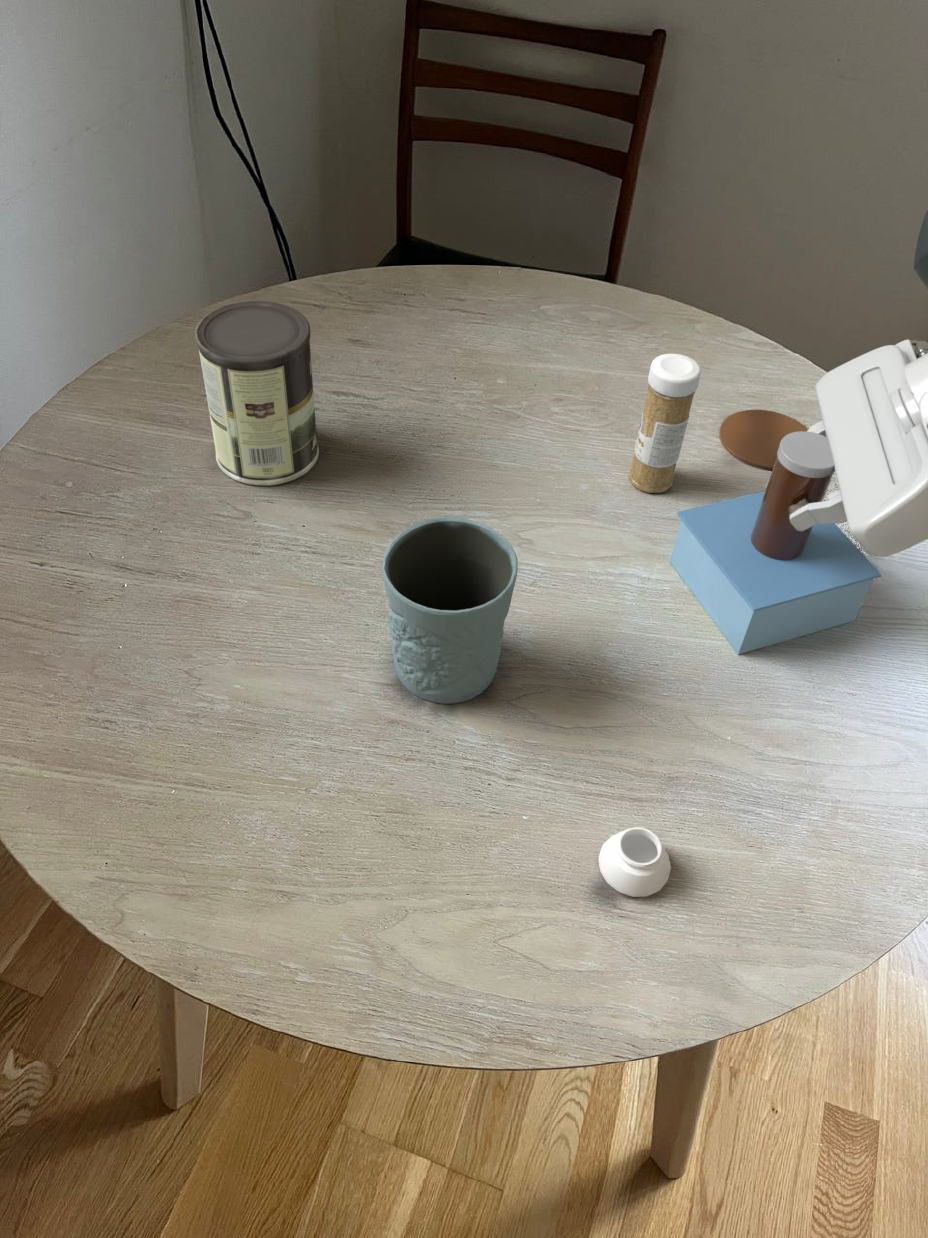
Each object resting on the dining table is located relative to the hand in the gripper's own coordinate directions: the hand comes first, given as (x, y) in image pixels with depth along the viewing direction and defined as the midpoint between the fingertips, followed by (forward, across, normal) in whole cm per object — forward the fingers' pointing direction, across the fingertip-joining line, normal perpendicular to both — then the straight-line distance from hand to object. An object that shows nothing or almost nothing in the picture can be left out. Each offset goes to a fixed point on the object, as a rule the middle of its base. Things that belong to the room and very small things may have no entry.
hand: (787, 493), depth 86 cm
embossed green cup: (+27, +12, -11) cm, 32 cm away
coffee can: (+42, -13, -25) cm, 50 cm away
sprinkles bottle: (+14, -14, +2) cm, 20 cm away
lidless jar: (+16, +30, 0) cm, 34 cm away
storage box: (+8, 0, +8) cm, 11 cm away
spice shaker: (+3, 0, +4) cm, 5 cm away
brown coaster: (+5, -23, +11) cm, 26 cm away
